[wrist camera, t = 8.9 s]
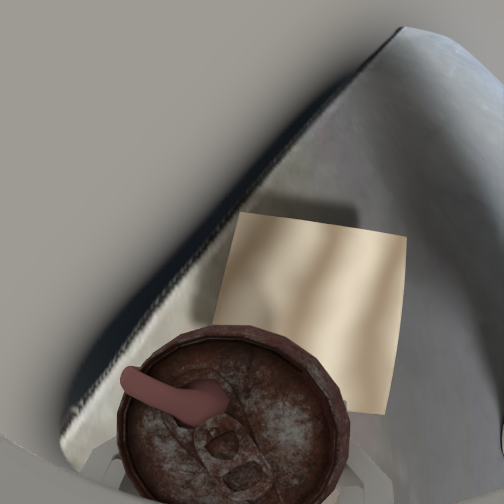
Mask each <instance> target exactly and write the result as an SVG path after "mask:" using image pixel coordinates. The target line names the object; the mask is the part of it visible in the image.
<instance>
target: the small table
mask: <svg viewBox="0 0 504 504" xmlns="http://www.w3.org/2000/svg"><path fill="white" fill-rule="evenodd" d="M406 242H407V237H404V236H398V235H393V234H387V233H381V232H375V231H369V230H363V229H357V228H350V227H344V226H338V225H331V224H325V223H318V222H311V221H305V220H298V219H291V218H284V217H276V216H269V215H262V214H254V213H246V212H240V213H239V217H238V221H237V225H236V229H235V233H234V237H233V240H232V244H231V248H230V252H229V256H228V260H227V264H226V268H225V272H224V276H223V280H222V284H221V288H220V292H219V296H218V300H217V304H216V308H215V312H214V317H213V321H212V325H251V326H254V327H257V328H260V329H263V330H266V331H270V332H273V333H276V334H279V335H282V336H286V337H287V338H288V339H290V340H291V341H293V342H294V343H296V344H297V345H298V346H300V347H301V348H303V349H304V350H306V351H307V352H309V353H310V354H311V355H313V356H314V357H316V358H317V359H318V360H319V362H320V363H321V364H322V366H323V367H324V368H325V370H326V371H327V372H328V374H329V375H330V376H331V378H332V379H333V380H334V382H335V383H336V384H337V386H338V387H339V389H340V392H341V395H342V398H343V400H346V402H347V411H352V412H361V413H371V414H382V415H384V414H385V410H386V405H387V400H388V396H389V391H390V385H391V380H392V375H393V369H394V363H395V357H396V351H397V344H398V337H399V329H400V321H401V312H402V302H403V292H404V279H405V264H406Z"/></svg>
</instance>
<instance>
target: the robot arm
mask: <svg viewBox="0 0 504 504" xmlns="http://www.w3.org/2000/svg"><path fill="white" fill-rule="evenodd" d="M343 401H344V404H345V407H346V410H347V402H346V400H343ZM502 447H503V453H504V426H503V433H502ZM336 488H337V489H338V491H339V492H340V494H339V496H338V499H337V501H336V504H394V497H393V486H392V481H391V480H390V479H389V478H388V477H387V476H386V475H385V474H384V472H383V471H382V470H381V469H380V468H379V467H378V466H377V465H376V464H375V462H374V461H373V460H372V459H371V458H370V457H369V456H368V455H367V453H366V452H365V451H364V450H363V449H362V448H361V447H360V446H359V444H358V443H357V442H356V441H355V440H354V439H353V438H351V439H350V440H349V458H348V460H347V462H346V465H345V467H344V469H343V472H342V474H341V476H340V478H339V481H338V483H337V485H336ZM0 504H164V503H160V502H157V501H153V500H149V499H146V498H142V497H141V496H140V494H139V493H138V491H137V490H136V488H135V487H134V485H133V484H132V482H131V481H130V479H129V478H128V476H127V474H126V472H125V469H124V466H123V463H122V460H121V456H120V453H119V450H118V446H117V436H115V437H113V438H112V439H110V440H108V441H107V442H105V443H104V444H102V445H100V446H99V447H97V448H95V449H93V451H92V453H91V455H90V457H89V458H88V460H87V462H86V464H85V466H84V468H83V470H82V471H81V473H80V475H78V474H76V473H73V472H71V471H69V470H67V469H64V468H62V467H60V466H58V465H56V464H54V463H51V462H50V461H48V460H46V459H44V458H42V457H40V456H38V455H36V454H34V453H32V452H30V451H29V450H27V449H25V448H23V447H21V446H19V445H18V444H16V443H14V442H12V441H11V440H9V439H8V438H6V437H4V436H3V435H1V434H0ZM452 504H504V487H502V488H499V489H496V490H494V491H491V492H488V493H485V494H482V495H479V496H476V497H473V498H469V499H466V500H463V501H459V502H455V503H452Z"/></svg>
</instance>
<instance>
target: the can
mask: <svg viewBox="0 0 504 504" xmlns="http://www.w3.org/2000/svg"><path fill="white" fill-rule="evenodd" d="M120 384H121V386H122V388H123V389H124V394H123V397H122V400H121V403H120V406H119V409H118V412H117V446H118V450H119V453H120V456H121V460H122V463H123V466H124V469H125V472H126V474H127V476H128V478H129V479H130V481H131V482H132V484H133V485H134V487H135V488H136V490H137V491H138V493H139V494H140V496H141V497H142V498H146V499H149V500H153V501H157V502H160V503H164V504H321V503H322V502H323V501H324V500H325V499H326V498H327V497H328V496H329V495H330V494H331V493H332V492H333V491H334V489H335V487H336V485H337V483H338V481H339V478H340V476H341V474H342V472H343V469H344V467H345V465H346V462H347V460H348V458H349V440H350V420H349V417H348V414H347V410H346V407H345V404H344V401H343V398H342V395H341V392H340V389H339V387H338V386H337V384H336V383H335V382H334V380H333V379H332V378H331V376H330V375H329V374H328V372H327V371H326V370H325V368H324V367H323V366H322V364H321V363H320V362H319V360H318V359H317V358H316V357H314V356H313V355H311V354H310V353H309V352H307V351H306V350H304V349H303V348H301V347H300V346H298V345H297V344H296V343H294V342H293V341H291V340H290V339H288V338H287V337H286V336H282V335H279V334H276V333H273V332H270V331H266V330H263V329H260V328H257V327H254V326H251V325H211V326H208V327H204V328H201V329H197V330H194V331H190V332H187V333H183V334H180V335H179V336H177V337H176V338H174V339H173V340H171V341H170V342H168V343H167V344H165V345H164V346H162V347H161V348H159V349H158V350H156V351H155V352H153V354H152V355H151V356H150V357H149V358H148V359H146V360H145V362H144V363H143V364H142V366H141V367H135V366H128V367H126V368H125V369H124V370H123V372H122V374H121V377H120Z"/></svg>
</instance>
